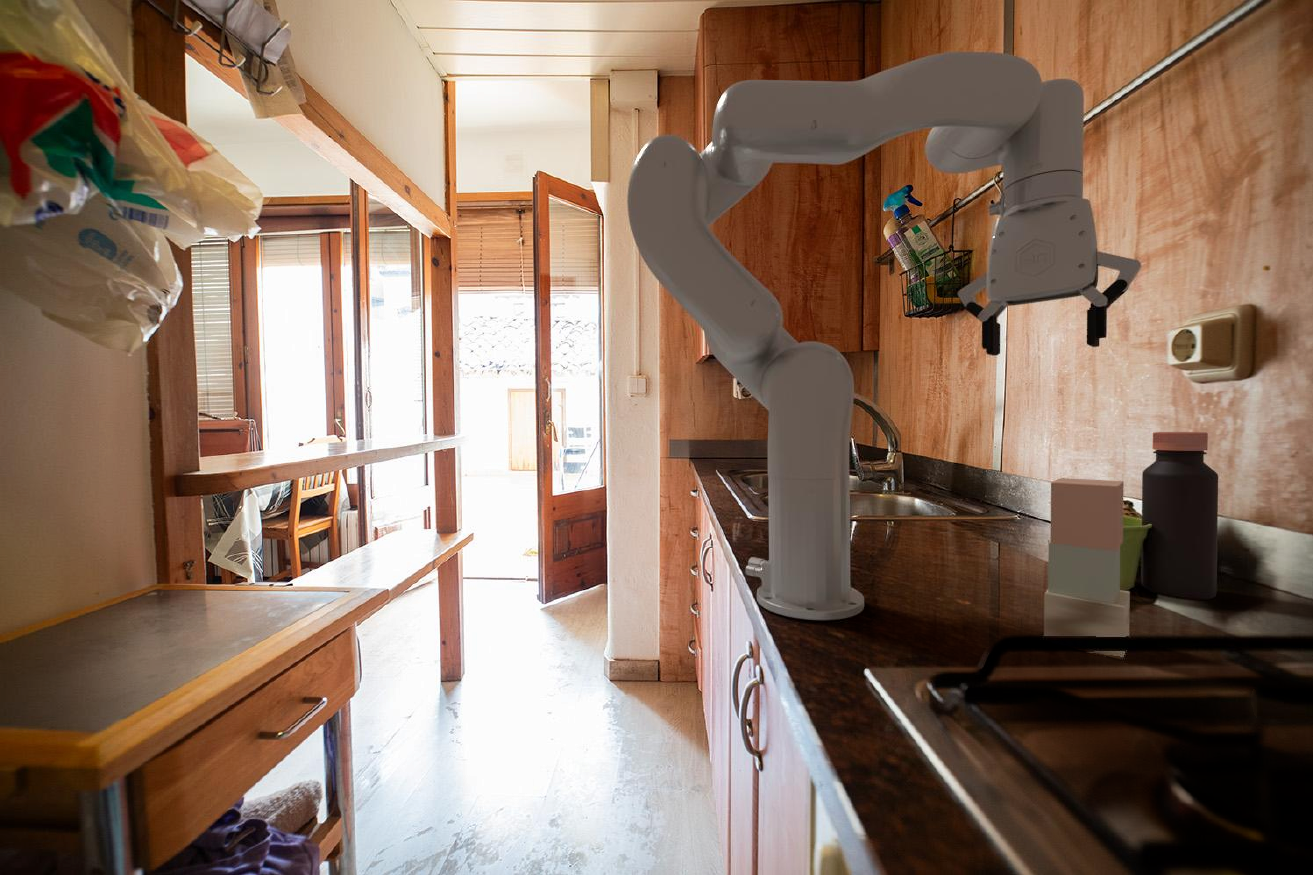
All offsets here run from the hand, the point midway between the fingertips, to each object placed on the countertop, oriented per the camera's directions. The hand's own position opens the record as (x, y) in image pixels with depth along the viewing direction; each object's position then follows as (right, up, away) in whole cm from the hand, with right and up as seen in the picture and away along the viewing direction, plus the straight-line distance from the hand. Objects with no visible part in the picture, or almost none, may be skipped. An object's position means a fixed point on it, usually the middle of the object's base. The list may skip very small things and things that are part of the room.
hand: (1040, 350), depth 63 cm
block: (-2, -21, -9) cm, 23 cm away
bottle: (+21, -30, +5) cm, 36 cm away
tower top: (-2, -26, -9) cm, 27 cm away
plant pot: (+14, -30, +8) cm, 34 cm away
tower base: (-2, -31, -9) cm, 32 cm away
